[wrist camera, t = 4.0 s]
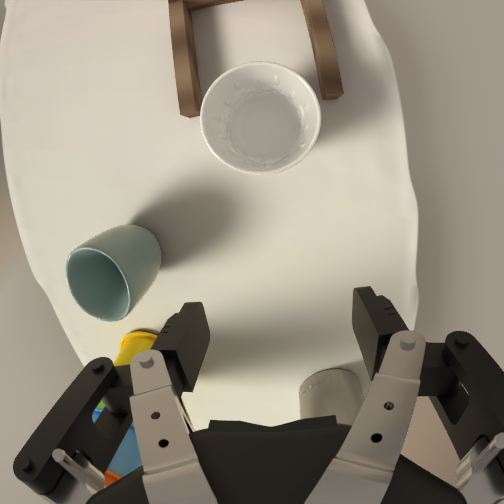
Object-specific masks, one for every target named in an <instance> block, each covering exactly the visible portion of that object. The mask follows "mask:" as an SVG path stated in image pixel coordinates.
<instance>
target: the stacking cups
mask: <svg viewBox="0 0 504 504" xmlns="http://www.w3.org/2000/svg"><path fill="white" fill-rule="evenodd" d="M157 337H158V336H157V335H154V334H151V333H148V332H141V331H136V332H131V333H129V334H127V335H126V336H124V338H123V339H122V341H121V343H120V350H121V351H120V353H119V355H118V356H117V358H116V360H115V361H114V363H113V364H114V366H122V365H128V364H130V362H131V360H132V358H133V357H134V356H135V355H136V354H138V353H140V352H142V351H145V350H150V349H151V347H152V345H153V343H154V342H155V340H156V338H157ZM104 407H105V405H104V403H103V402H102V400H101V401H100V403H99V404H98V406H97V407H96V409H95V410H94V412H93V415H92V419H93V422H94V423H95V421H96V420H97V418H98V417H99V415H100V414H101V412H102V410H103V409H104ZM141 465H142V460H141V456H140V452H139V447H138V443H137V438H136V433H135V428H134V422H132V424H131V426H130V427H129V429H128V431H127V433H126V435H125V437H124V439H123V440H122V442H121V444H120V446H119V448H118V450H117V452H116V453H115V455H114V457H113V459H112V461H111V463H110V465H109V467H108V468H107V470H106V472H105V474H104V478H105V485H104V486H105V487H107V486H109V485H110V484H112V483H114V482H115V481H117V480H119V479H120V478H122V477H124V476H125V475H127V474H129V473H130V472H132V471H133V470H135V469H136V468H138V467H140V466H141ZM50 504H51V503H50Z"/></svg>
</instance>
